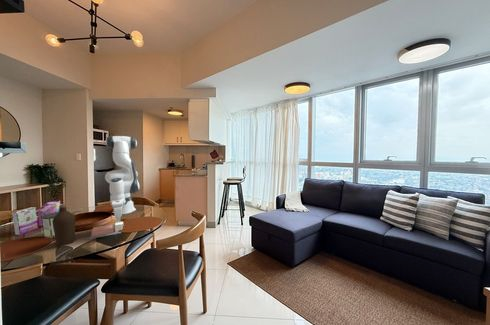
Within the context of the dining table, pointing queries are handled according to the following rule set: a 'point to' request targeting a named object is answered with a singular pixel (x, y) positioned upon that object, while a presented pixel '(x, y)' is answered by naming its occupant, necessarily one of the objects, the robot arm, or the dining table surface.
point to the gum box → (48, 210)
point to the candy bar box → (25, 220)
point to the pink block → (103, 230)
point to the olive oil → (64, 227)
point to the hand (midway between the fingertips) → (119, 219)
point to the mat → (103, 235)
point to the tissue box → (49, 224)
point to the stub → (118, 226)
